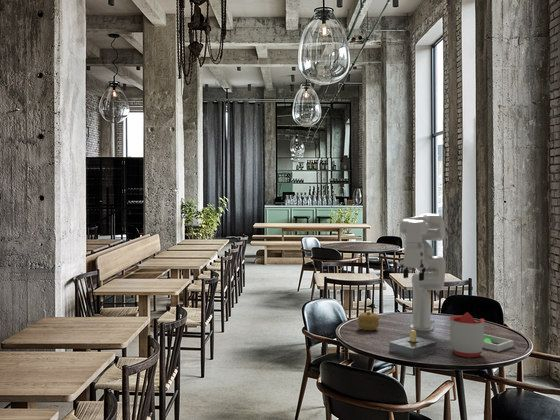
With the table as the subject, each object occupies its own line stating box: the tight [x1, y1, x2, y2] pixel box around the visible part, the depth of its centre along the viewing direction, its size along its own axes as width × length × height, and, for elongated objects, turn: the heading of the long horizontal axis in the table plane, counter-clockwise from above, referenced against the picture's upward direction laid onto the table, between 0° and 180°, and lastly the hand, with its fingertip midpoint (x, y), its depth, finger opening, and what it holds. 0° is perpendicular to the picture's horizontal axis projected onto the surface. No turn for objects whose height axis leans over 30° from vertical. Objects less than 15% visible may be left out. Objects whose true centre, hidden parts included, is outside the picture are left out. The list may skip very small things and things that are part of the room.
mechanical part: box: [484, 337, 493, 343], centre depth 279 cm, size 12×6×8 cm, turn 166°
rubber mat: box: [399, 334, 426, 339], centre depth 286 cm, size 10×10×1 cm
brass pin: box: [409, 329, 417, 344], centre depth 265 cm, size 3×3×10 cm
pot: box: [357, 311, 380, 332], centre depth 306 cm, size 12×12×10 cm
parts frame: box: [482, 333, 514, 352], centre depth 277 cm, size 14×20×3 cm
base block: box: [388, 336, 437, 359], centre depth 265 cm, size 18×14×4 cm
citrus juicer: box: [449, 312, 486, 359], centre depth 261 cm, size 16×17×20 cm
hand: (413, 279), depth 280 cm, fingers open, 9 cm apart
